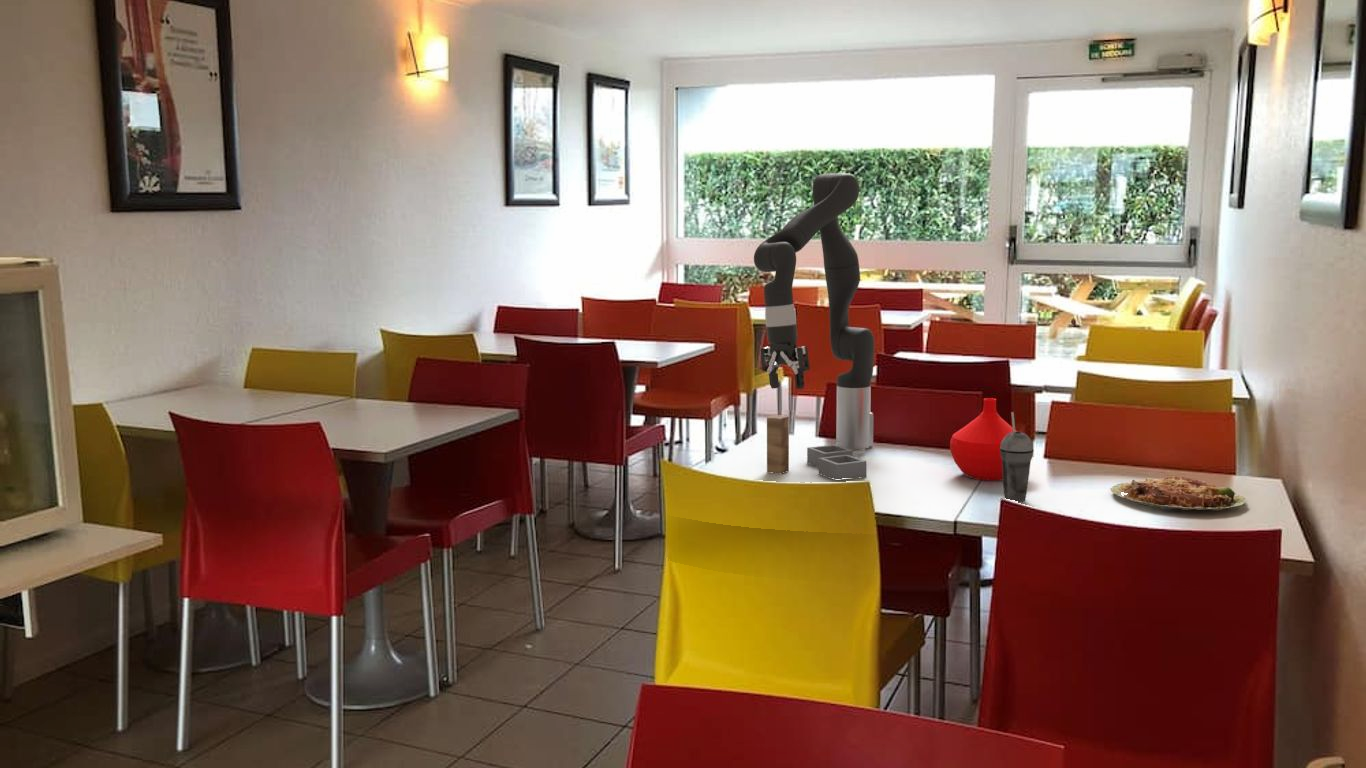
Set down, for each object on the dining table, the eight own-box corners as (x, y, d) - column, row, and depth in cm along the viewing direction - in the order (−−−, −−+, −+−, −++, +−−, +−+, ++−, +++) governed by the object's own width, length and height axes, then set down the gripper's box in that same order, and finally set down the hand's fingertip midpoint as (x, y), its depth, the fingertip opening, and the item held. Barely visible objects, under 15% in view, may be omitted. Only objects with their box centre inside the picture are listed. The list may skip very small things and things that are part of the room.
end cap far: (834, 459, 291) (835, 444, 290) (852, 465, 283) (853, 450, 282) (807, 462, 287) (807, 447, 286) (824, 469, 279) (824, 453, 279)
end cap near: (847, 470, 278) (847, 454, 278) (866, 477, 270) (866, 461, 270) (818, 473, 275) (818, 458, 274) (837, 480, 267) (837, 464, 266)
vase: (1030, 486, 259) (1033, 406, 257) (950, 483, 263) (952, 404, 260) (1022, 469, 277) (1025, 393, 274) (948, 466, 281) (949, 392, 278)
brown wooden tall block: (775, 469, 280) (775, 414, 278) (788, 471, 278) (788, 416, 276) (766, 472, 277) (766, 417, 275) (780, 474, 275) (780, 418, 273)
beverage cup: (1036, 504, 243) (1039, 415, 240) (1002, 504, 244) (1005, 415, 241) (1026, 496, 251) (1029, 409, 248) (994, 496, 251) (997, 409, 248)
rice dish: (1133, 484, 265) (1133, 462, 265) (1259, 497, 248) (1260, 473, 247) (1092, 509, 244) (1092, 485, 243) (1227, 525, 227) (1228, 499, 226)
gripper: (812, 321, 270) (818, 386, 271) (771, 322, 281) (777, 385, 282) (791, 324, 265) (797, 391, 267) (750, 326, 276) (756, 390, 277)
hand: (787, 388), depth 274 cm, fingers open, 8 cm apart
